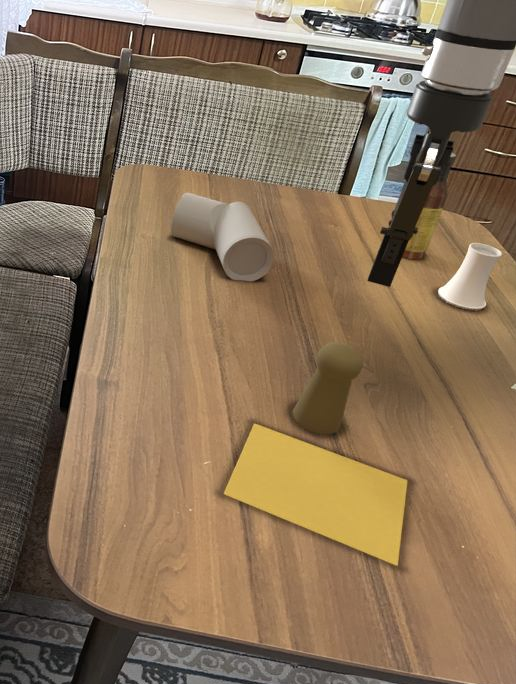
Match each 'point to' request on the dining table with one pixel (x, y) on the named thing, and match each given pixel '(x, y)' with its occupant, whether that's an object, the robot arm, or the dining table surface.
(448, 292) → the vase
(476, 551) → the dining table surface
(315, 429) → the cork
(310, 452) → the yellow cloth
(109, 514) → the dining table surface
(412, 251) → the sauce bottle
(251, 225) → the bent grey cylinder
